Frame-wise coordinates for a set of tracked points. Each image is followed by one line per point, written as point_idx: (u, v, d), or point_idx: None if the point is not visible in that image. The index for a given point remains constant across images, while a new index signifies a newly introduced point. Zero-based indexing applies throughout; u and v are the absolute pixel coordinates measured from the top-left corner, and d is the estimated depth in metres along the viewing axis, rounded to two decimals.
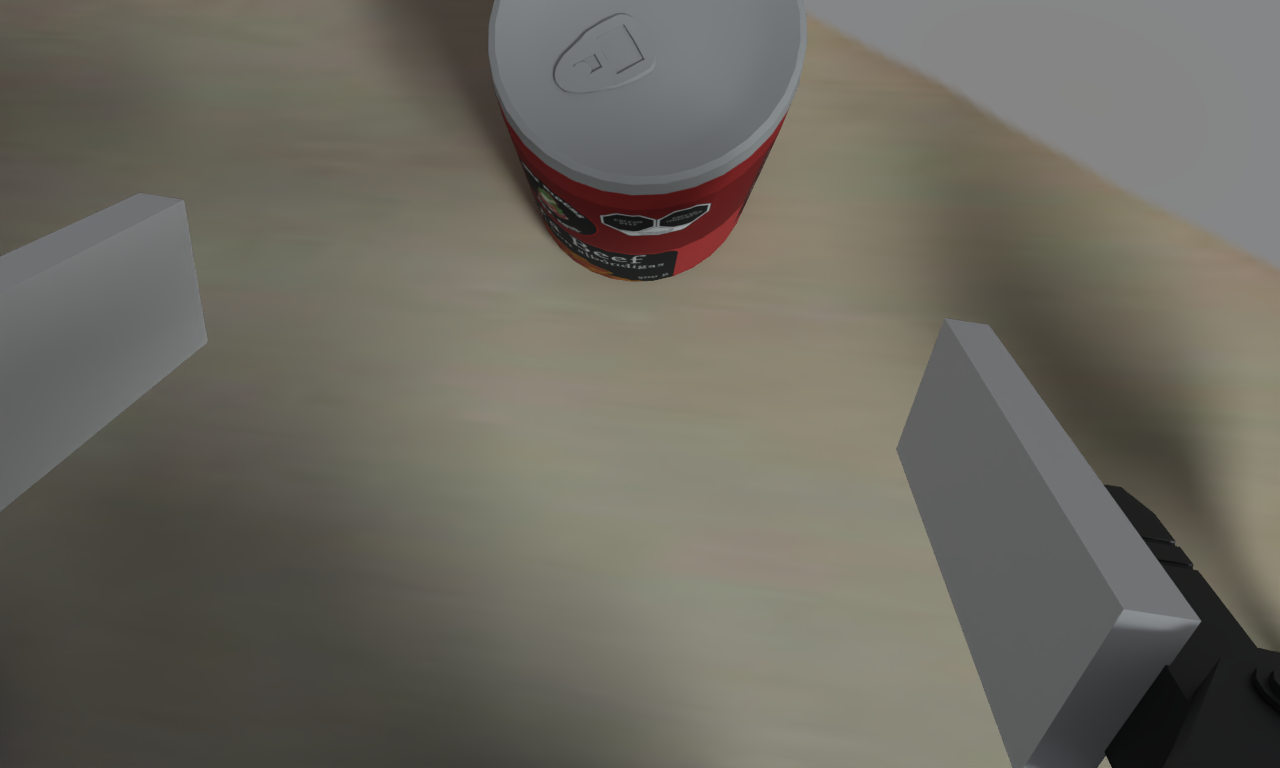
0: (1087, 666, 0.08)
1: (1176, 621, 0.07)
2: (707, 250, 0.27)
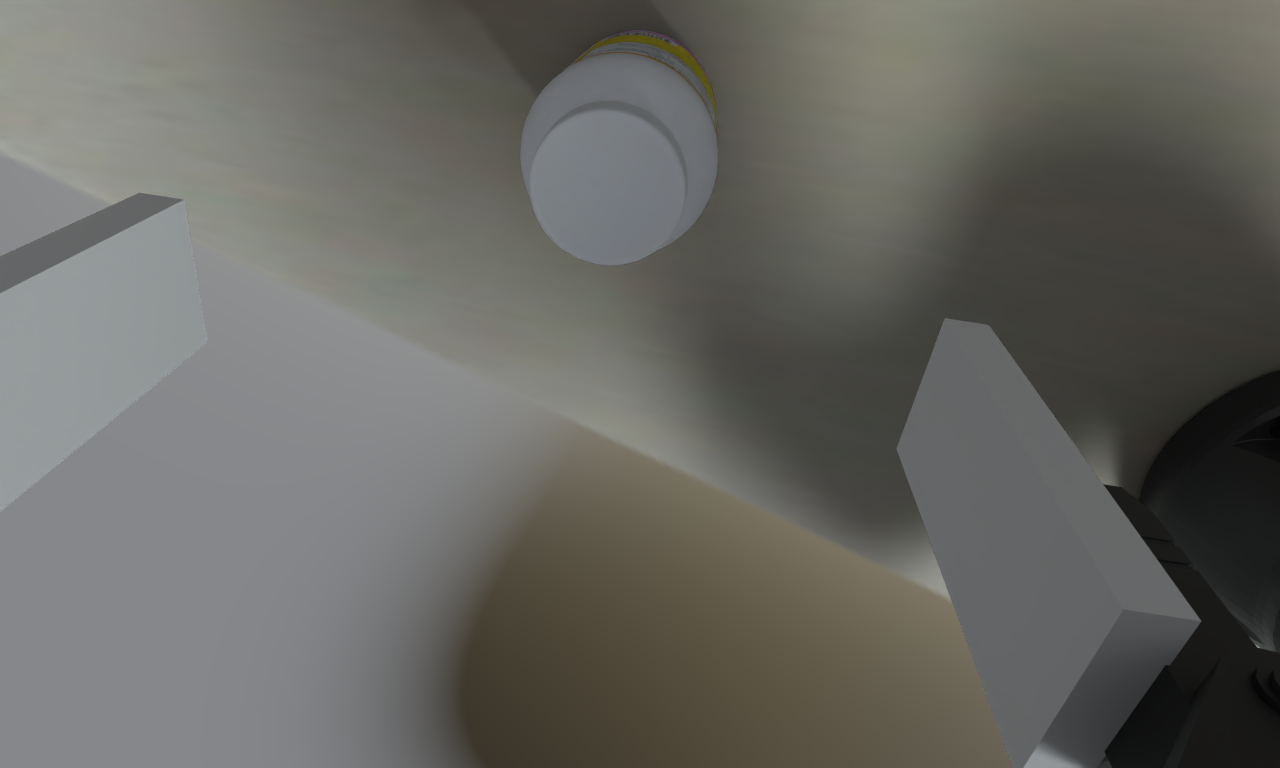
0: (1086, 666, 0.08)
1: (1175, 621, 0.07)
2: None
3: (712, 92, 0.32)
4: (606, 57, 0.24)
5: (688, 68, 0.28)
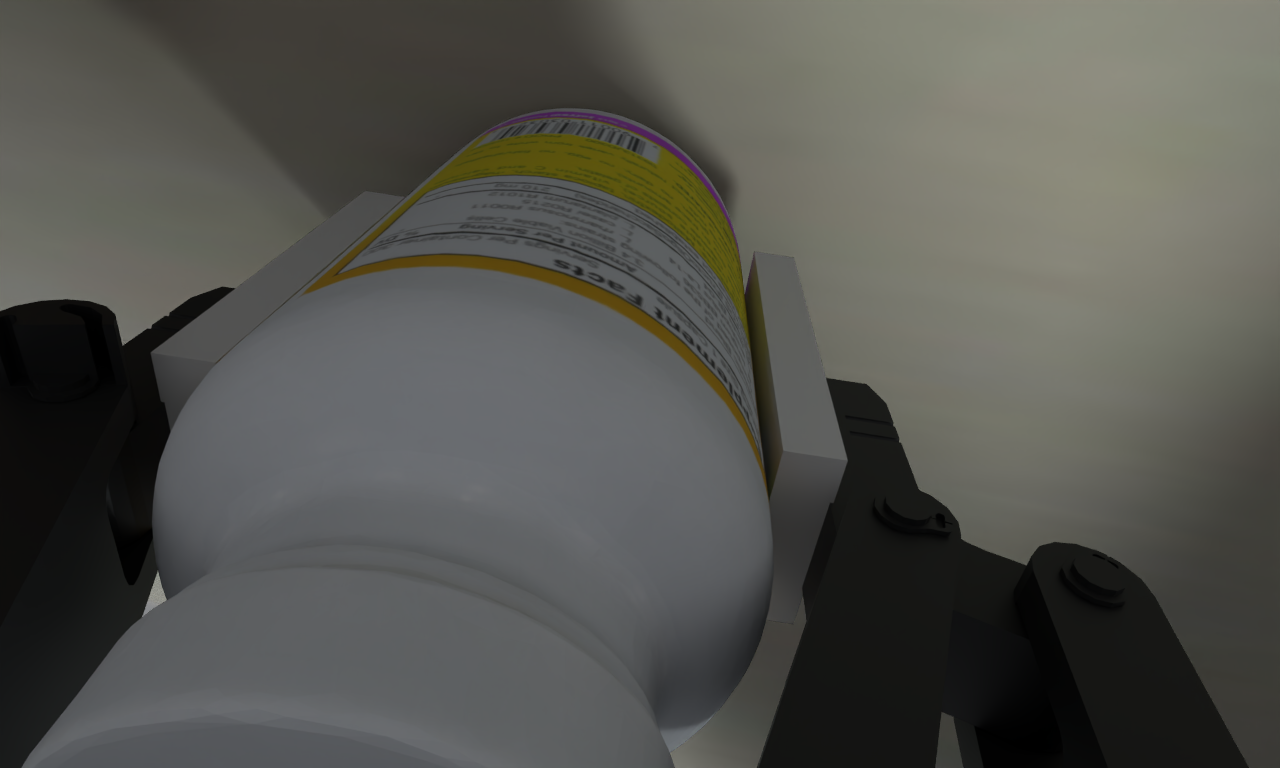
0: None
1: (829, 461, 0.09)
2: None
3: (737, 252, 0.14)
4: (397, 299, 0.07)
5: (685, 250, 0.10)
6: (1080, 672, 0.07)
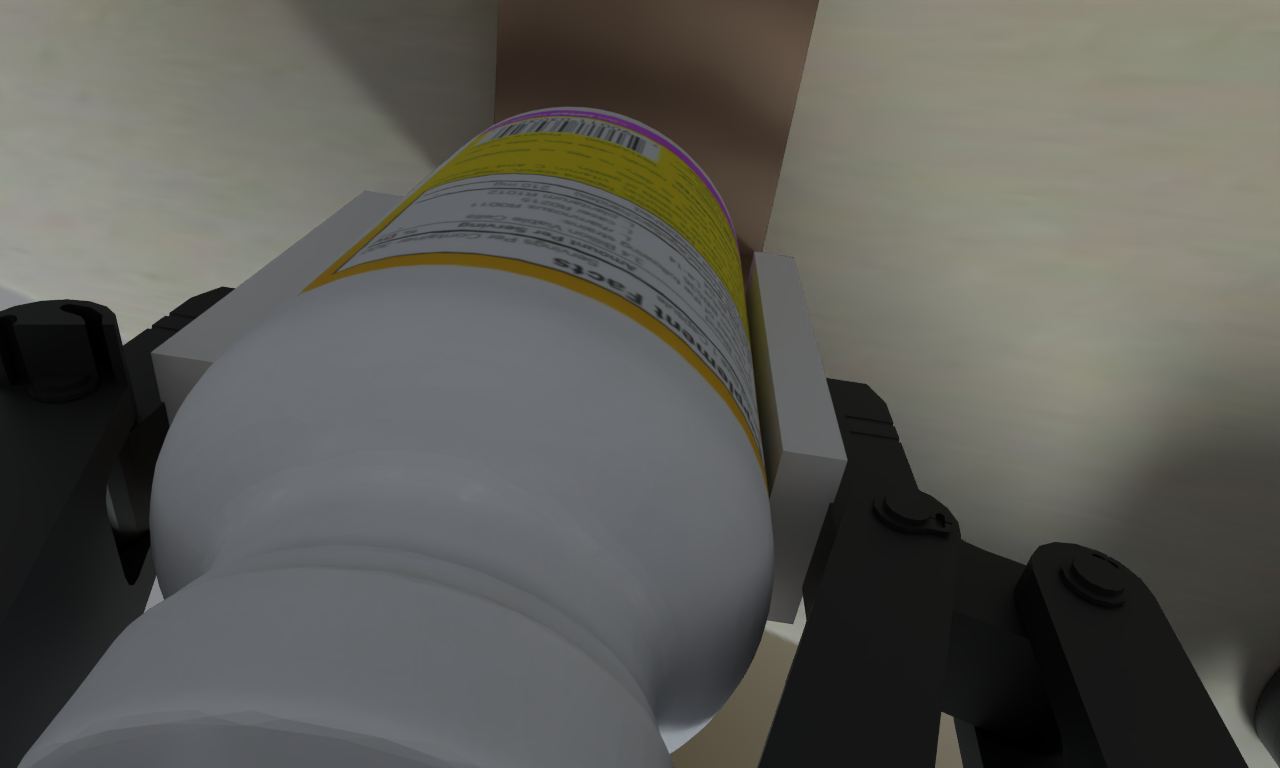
0: None
1: (828, 461, 0.09)
2: None
3: (737, 251, 0.14)
4: (395, 297, 0.07)
5: (685, 249, 0.10)
6: (1079, 672, 0.07)
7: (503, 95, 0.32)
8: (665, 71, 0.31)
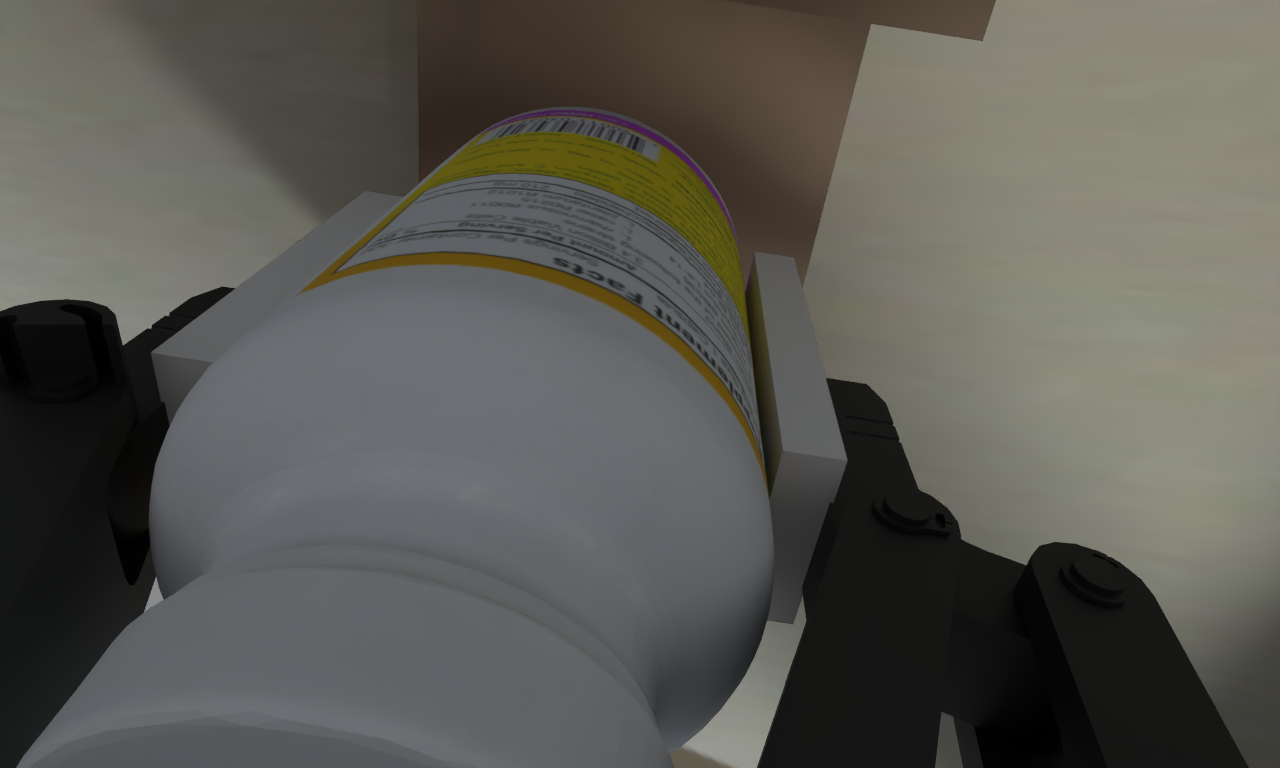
0: None
1: (829, 461, 0.09)
2: None
3: (737, 251, 0.14)
4: (395, 297, 0.07)
5: (685, 249, 0.10)
6: (1080, 672, 0.07)
7: (430, 159, 0.23)
8: None
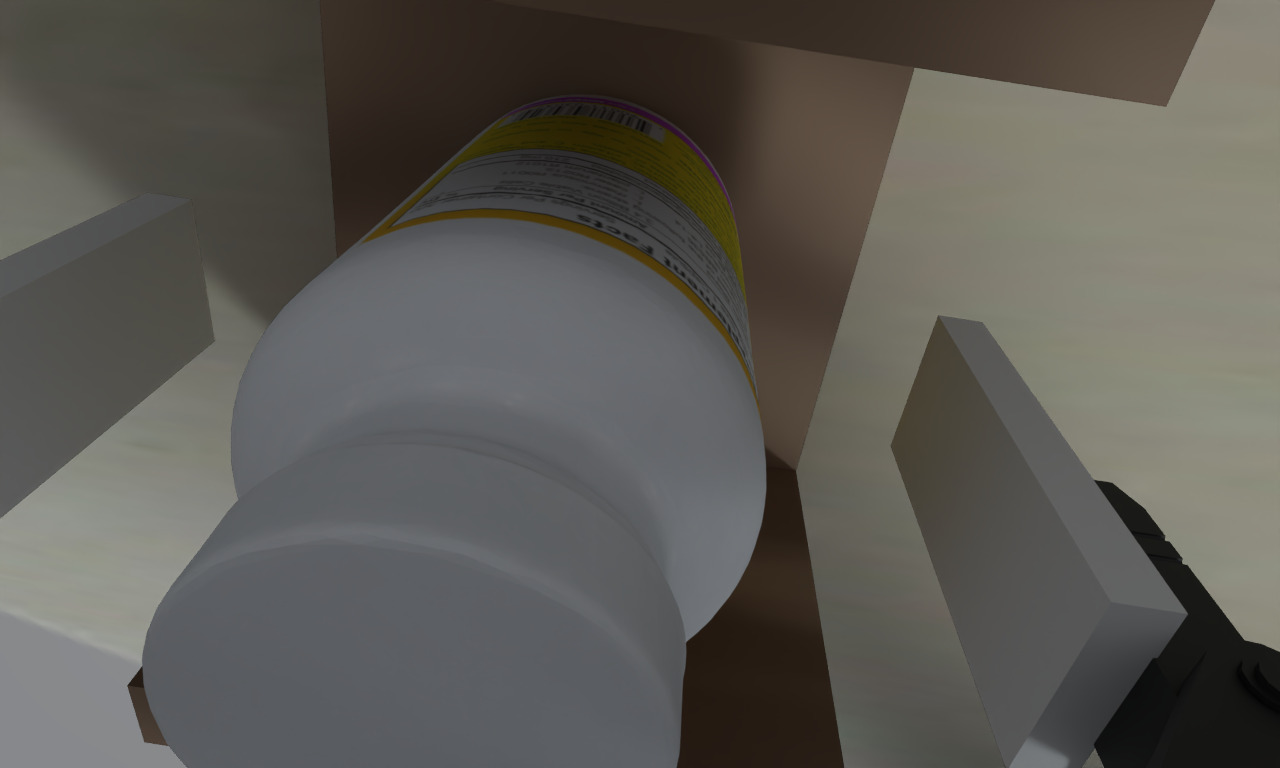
0: (1075, 659, 0.08)
1: (1162, 614, 0.08)
2: None
3: (735, 226, 0.15)
4: (447, 242, 0.08)
5: (689, 215, 0.11)
6: None
7: (348, 218, 0.18)
8: None
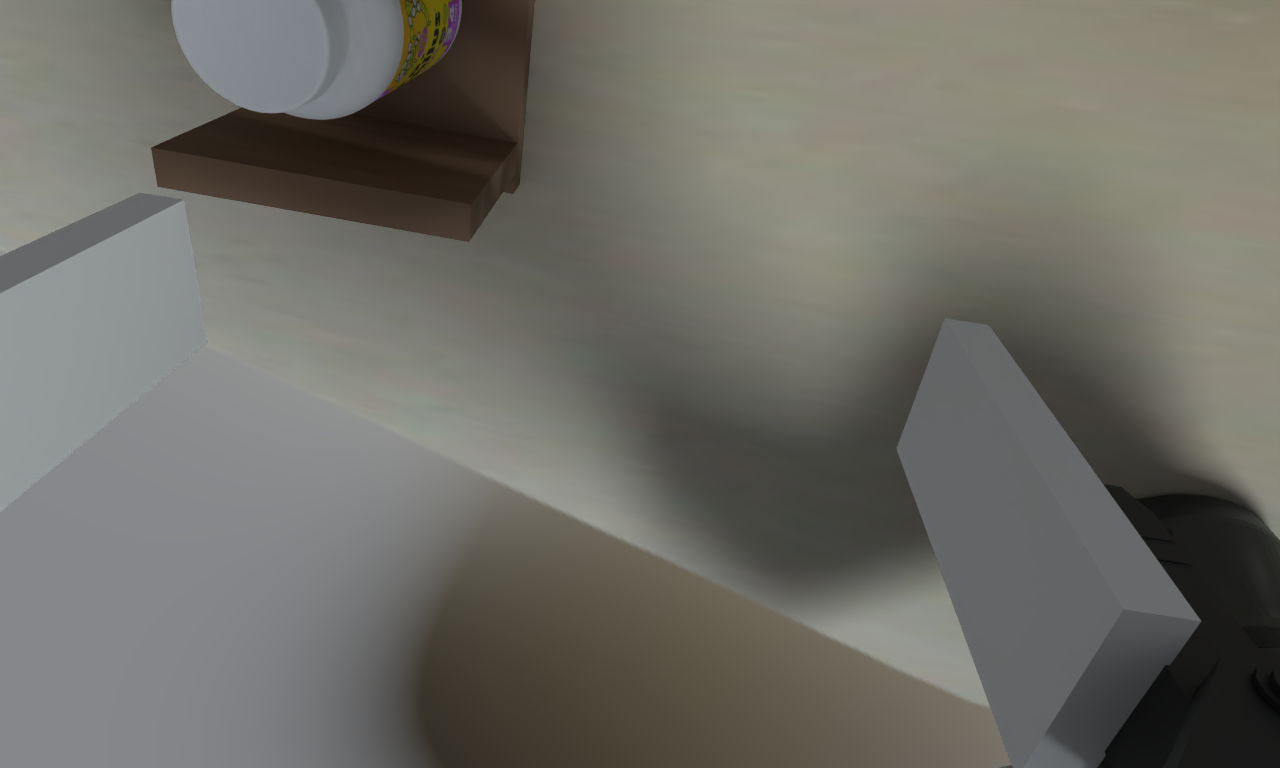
0: (1086, 666, 0.08)
1: (1175, 621, 0.07)
2: None
3: None
4: None
5: None
6: None
7: None
8: None
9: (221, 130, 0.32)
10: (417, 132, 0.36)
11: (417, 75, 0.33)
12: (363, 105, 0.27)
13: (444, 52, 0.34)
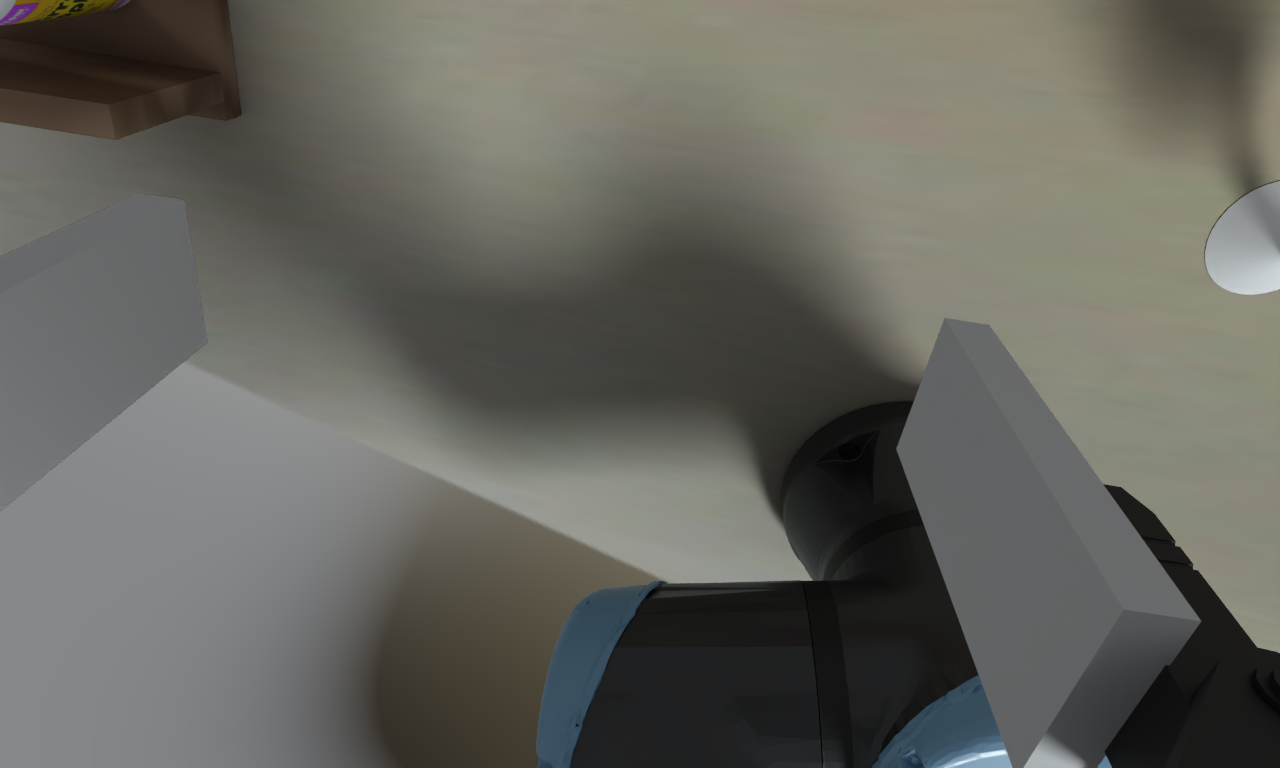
0: (1087, 666, 0.08)
1: (1176, 621, 0.07)
2: None
3: None
4: None
5: None
6: None
7: None
8: None
9: None
10: (124, 62, 0.41)
11: (96, 5, 0.37)
12: None
13: None
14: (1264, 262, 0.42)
